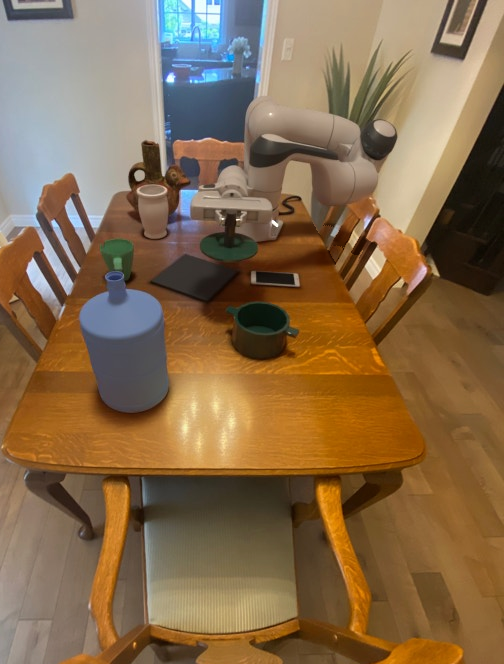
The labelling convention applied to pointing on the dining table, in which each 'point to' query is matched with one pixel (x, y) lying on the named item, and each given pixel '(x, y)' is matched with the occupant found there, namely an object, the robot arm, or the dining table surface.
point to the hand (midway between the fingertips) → (230, 223)
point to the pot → (260, 329)
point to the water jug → (126, 346)
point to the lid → (229, 243)
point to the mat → (195, 277)
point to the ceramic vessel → (156, 177)
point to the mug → (118, 256)
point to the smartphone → (275, 279)
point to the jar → (153, 210)
